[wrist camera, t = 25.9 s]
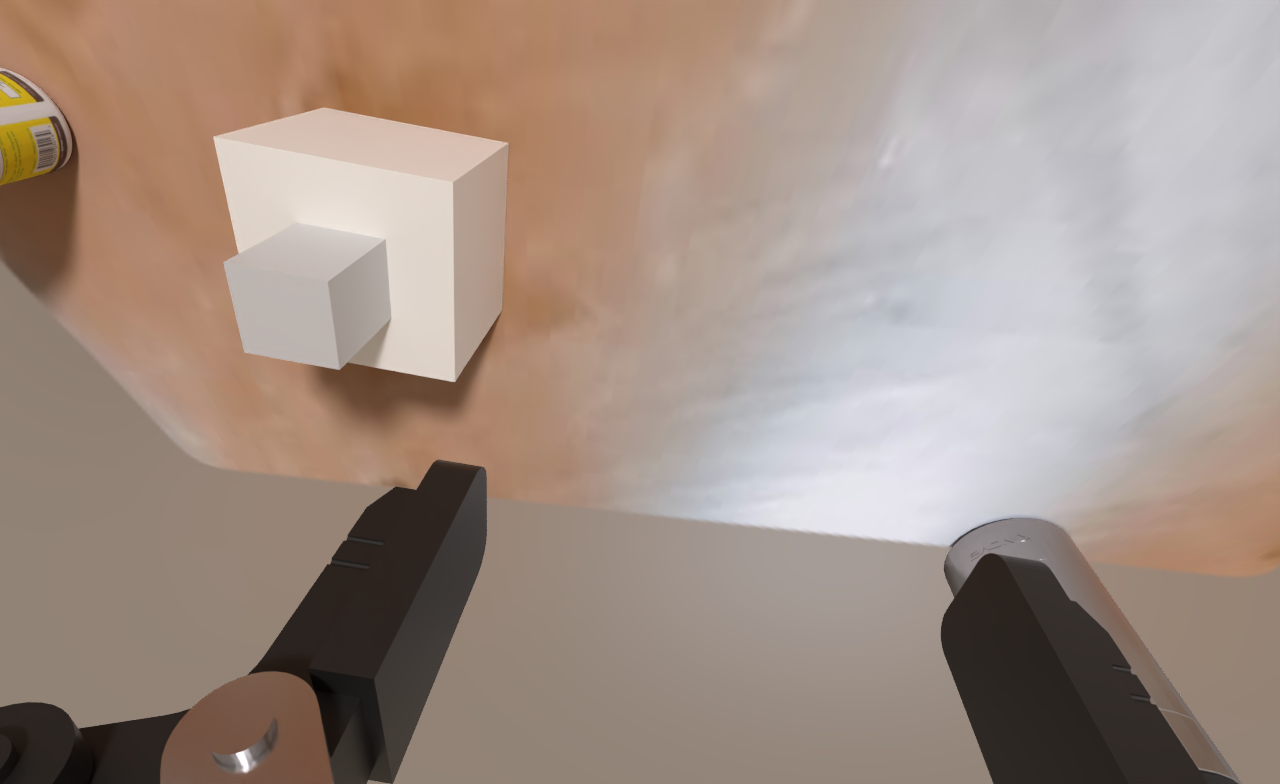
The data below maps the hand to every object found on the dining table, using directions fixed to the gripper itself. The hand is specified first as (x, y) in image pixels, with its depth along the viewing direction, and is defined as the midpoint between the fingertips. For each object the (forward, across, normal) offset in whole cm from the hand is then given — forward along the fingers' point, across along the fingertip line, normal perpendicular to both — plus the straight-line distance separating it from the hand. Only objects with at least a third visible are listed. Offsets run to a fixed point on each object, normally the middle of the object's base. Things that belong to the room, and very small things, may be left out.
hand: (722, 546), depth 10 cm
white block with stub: (+27, +16, +5) cm, 32 cm away
